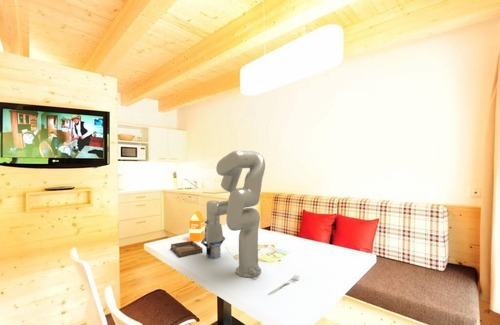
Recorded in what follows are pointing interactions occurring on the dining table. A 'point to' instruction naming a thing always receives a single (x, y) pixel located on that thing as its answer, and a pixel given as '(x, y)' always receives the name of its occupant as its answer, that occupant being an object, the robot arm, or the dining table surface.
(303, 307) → the dining table surface
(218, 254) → the medicine box
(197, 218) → the orange juice
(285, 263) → the dining table surface
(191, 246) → the walnut tray
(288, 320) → the dining table surface
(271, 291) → the fork
